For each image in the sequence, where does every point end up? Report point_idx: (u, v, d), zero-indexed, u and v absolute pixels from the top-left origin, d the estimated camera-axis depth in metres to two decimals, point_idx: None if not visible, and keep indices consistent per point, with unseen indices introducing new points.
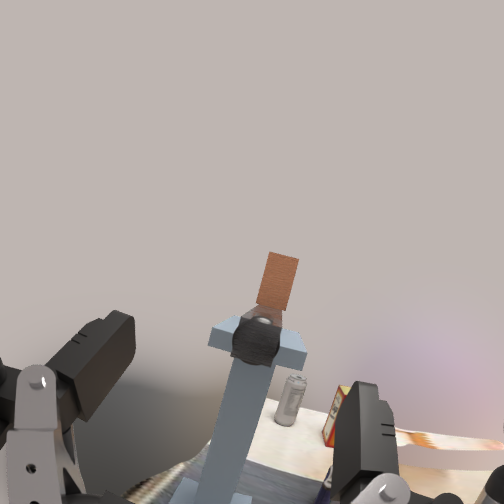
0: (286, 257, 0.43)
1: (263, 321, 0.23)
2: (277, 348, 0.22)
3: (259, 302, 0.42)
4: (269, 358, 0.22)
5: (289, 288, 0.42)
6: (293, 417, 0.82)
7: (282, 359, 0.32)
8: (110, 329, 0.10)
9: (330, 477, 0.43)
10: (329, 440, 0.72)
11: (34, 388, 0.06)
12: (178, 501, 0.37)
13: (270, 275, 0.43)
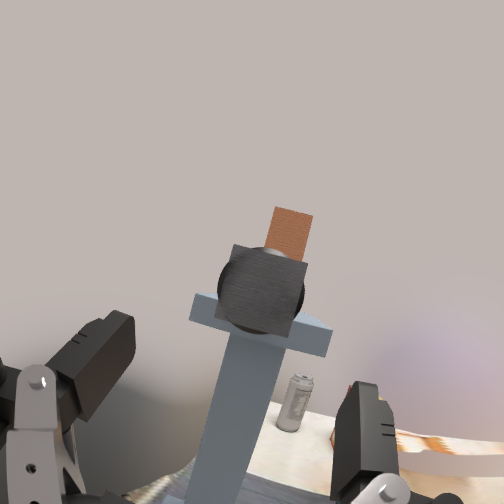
0: (297, 213, 0.33)
1: (274, 252, 0.13)
2: (299, 302, 0.12)
3: None
4: (285, 321, 0.12)
5: (301, 253, 0.33)
6: (298, 422, 0.72)
7: (296, 341, 0.22)
8: (110, 329, 0.10)
9: None
10: None
11: (34, 388, 0.06)
12: None
13: (276, 236, 0.33)
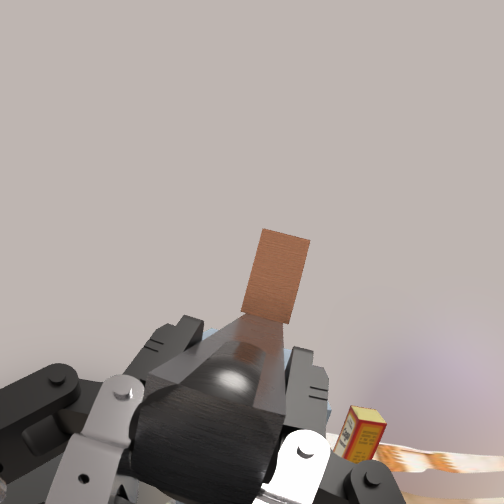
0: (290, 237, 0.26)
1: (221, 393, 0.06)
2: (269, 472, 0.06)
3: (246, 310, 0.26)
4: (243, 496, 0.06)
5: (295, 287, 0.26)
6: None
7: None
8: (186, 334, 0.10)
9: None
10: None
11: (122, 400, 0.07)
12: None
13: (263, 266, 0.26)
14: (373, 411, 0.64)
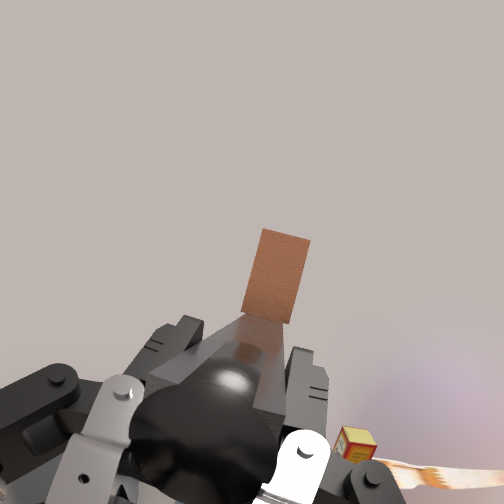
0: (290, 237, 0.26)
1: (221, 394, 0.06)
2: (269, 473, 0.06)
3: (246, 310, 0.26)
4: (243, 496, 0.06)
5: (295, 287, 0.26)
6: None
7: None
8: (186, 334, 0.10)
9: None
10: None
11: (122, 400, 0.07)
12: None
13: (263, 266, 0.26)
14: (365, 432, 0.64)
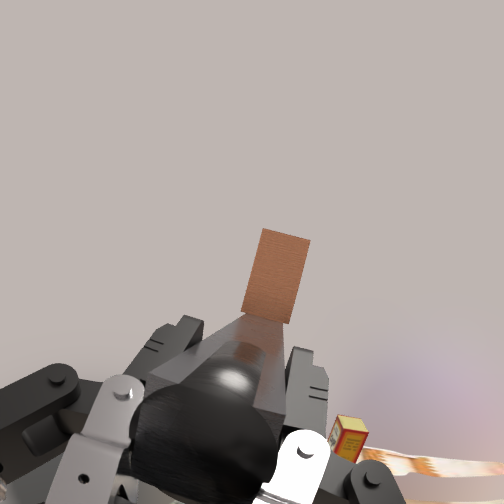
0: (290, 237, 0.27)
1: (221, 393, 0.06)
2: (269, 472, 0.06)
3: (246, 310, 0.26)
4: (243, 496, 0.06)
5: (295, 287, 0.26)
6: None
7: None
8: (186, 334, 0.10)
9: None
10: None
11: (122, 400, 0.07)
12: None
13: (263, 266, 0.26)
14: (358, 420, 0.71)
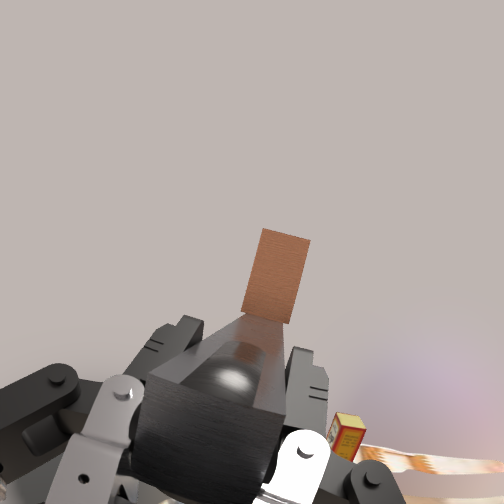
0: (290, 237, 0.26)
1: (221, 394, 0.06)
2: (269, 473, 0.06)
3: (246, 310, 0.26)
4: (243, 496, 0.06)
5: (295, 287, 0.26)
6: None
7: None
8: (186, 334, 0.10)
9: None
10: None
11: (122, 400, 0.07)
12: None
13: (263, 266, 0.26)
14: (356, 417, 0.73)
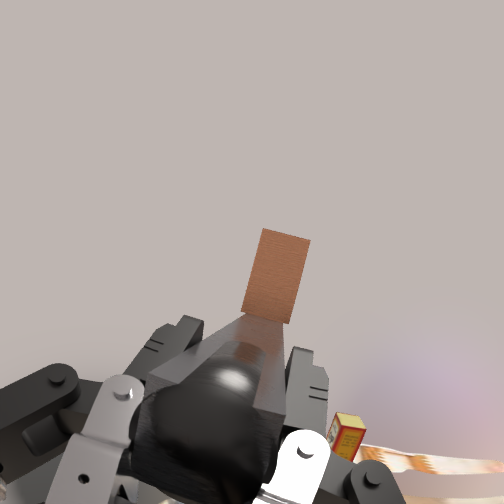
0: (290, 237, 0.26)
1: (221, 394, 0.06)
2: (269, 473, 0.06)
3: (246, 310, 0.26)
4: (243, 496, 0.06)
5: (295, 287, 0.26)
6: None
7: None
8: (186, 334, 0.10)
9: None
10: None
11: (122, 400, 0.07)
12: None
13: (263, 266, 0.26)
14: (356, 417, 0.73)
